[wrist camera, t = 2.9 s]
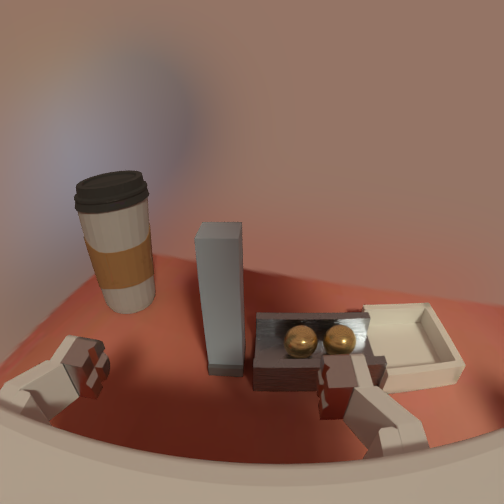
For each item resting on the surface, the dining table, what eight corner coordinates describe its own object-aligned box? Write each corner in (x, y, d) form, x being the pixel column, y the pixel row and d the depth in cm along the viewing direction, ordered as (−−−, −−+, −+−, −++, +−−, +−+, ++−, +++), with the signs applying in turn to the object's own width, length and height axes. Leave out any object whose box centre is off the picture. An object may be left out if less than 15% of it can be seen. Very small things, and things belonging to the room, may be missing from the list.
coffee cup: (173, 307, 37) (156, 178, 30) (105, 328, 33) (72, 196, 26) (152, 275, 43) (137, 166, 36) (95, 292, 39) (70, 180, 32)
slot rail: (362, 335, 32) (368, 312, 30) (378, 386, 25) (387, 363, 24) (256, 335, 32) (256, 312, 31) (253, 390, 26) (253, 367, 24)
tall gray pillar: (245, 346, 31) (242, 219, 25) (242, 376, 27) (237, 241, 21) (215, 345, 31) (203, 219, 25) (209, 375, 27) (192, 241, 22)
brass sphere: (314, 342, 30) (317, 318, 28) (317, 365, 27) (321, 340, 26) (282, 343, 30) (284, 318, 28) (283, 365, 27) (285, 340, 26)
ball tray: (422, 320, 33) (428, 302, 32) (455, 383, 24) (465, 365, 23) (359, 323, 33) (363, 304, 32) (380, 394, 24) (388, 375, 23)
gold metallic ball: (349, 342, 29) (355, 317, 28) (355, 364, 27) (362, 339, 25) (319, 342, 30) (323, 318, 28) (322, 365, 27) (327, 340, 26)
